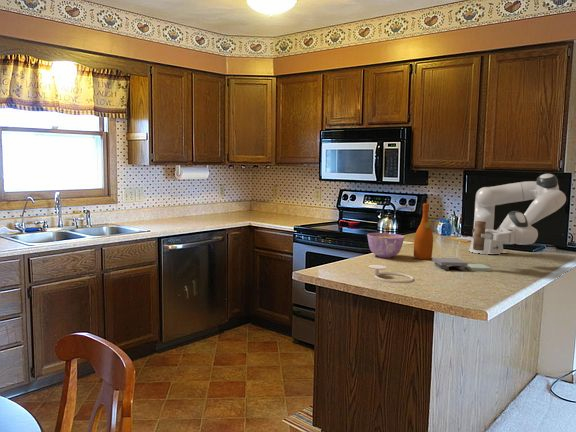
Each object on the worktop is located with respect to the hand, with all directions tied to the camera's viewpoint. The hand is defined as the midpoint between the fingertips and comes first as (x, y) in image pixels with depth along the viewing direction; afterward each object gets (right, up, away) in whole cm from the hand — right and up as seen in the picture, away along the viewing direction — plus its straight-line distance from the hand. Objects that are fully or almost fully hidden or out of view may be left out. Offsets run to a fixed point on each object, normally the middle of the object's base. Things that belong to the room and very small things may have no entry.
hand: (477, 234), depth 243 cm
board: (0, -17, +1) cm, 17 cm away
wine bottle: (-21, -14, +24) cm, 34 cm away
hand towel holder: (-49, -18, -27) cm, 59 cm away
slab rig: (-14, -17, 0) cm, 22 cm away
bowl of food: (-41, -13, +25) cm, 50 cm away
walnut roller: (+1, -8, +1) cm, 8 cm away
